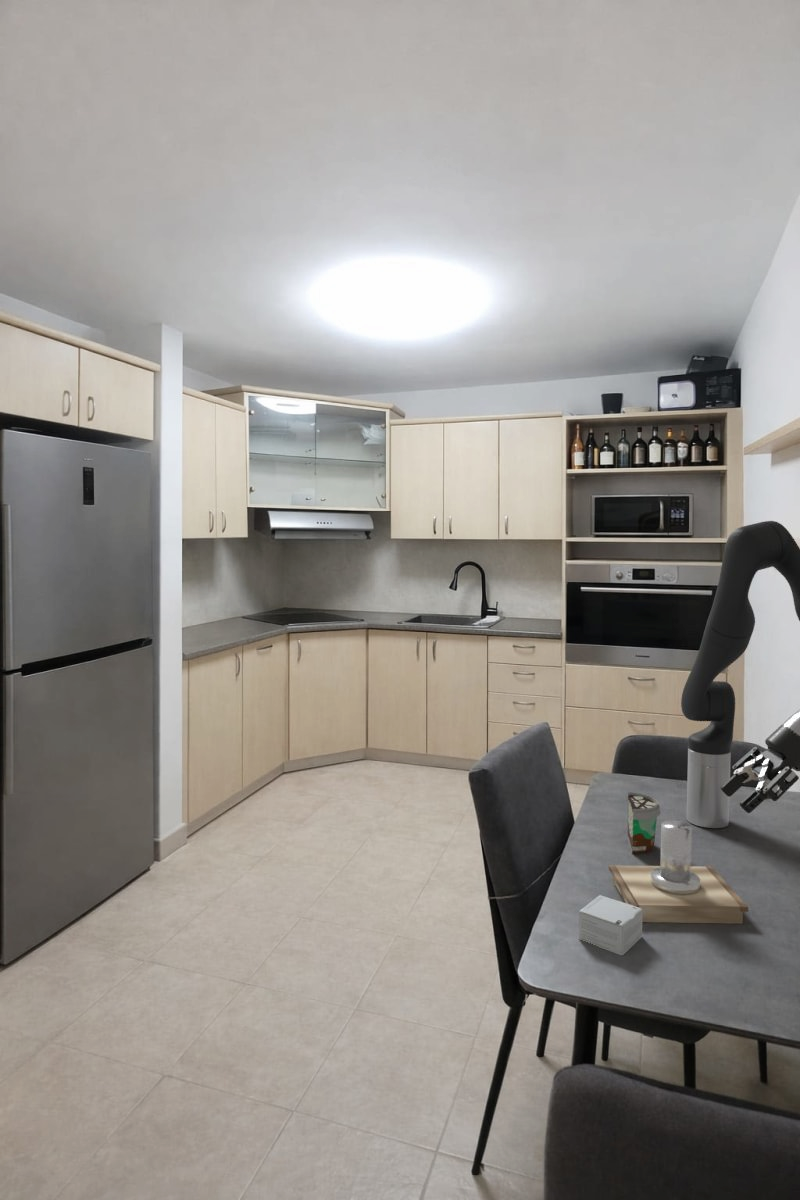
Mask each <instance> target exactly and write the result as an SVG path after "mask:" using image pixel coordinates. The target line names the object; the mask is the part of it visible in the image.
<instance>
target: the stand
mask: <svg viewBox="0 0 800 1200" xmlns="http://www.w3.org/2000/svg"><path fill="white" fill-rule="evenodd" d="M656 868H660V865H615V864H609V865H608V871H609V872H610V874H611V875H612V881H613V884H614V886H615V887H616V888H617V890H618V892H619V894H620V896H621V897H622V899H623V902H624V903H627V904H630V905H633V906H636V907H639V908H641V909H642V923H673V924H674V923H681V924H683V923H684V924H685V923H687V924H692V923H693V924H742V925H743V924H744V923H743V922H744V920H743V919H744V918H743V917H744V915H743V914H744V913H745V912H746V913H747V912H749V906H748V905H747V904H746V903H745V901H743V899H742V898H741V897H740V896H739V895H738V893H736V892H735V891H734V890H733V888H732V887H731V886H730V884H728V883H727V882H726V881H725V880H724V879H723V877H722V876H721V875H720V873H718V872H717V871H716V869H714V868H713V866H711V865H707V866H706V865H704V866H699V865H698V866H696V865H695V866H692V865H691V872H692V873H694V874H696V875H697V876H698V877H699V878H700V890H699V892H698V893H696V894H693V895H673V894H669V893H665V892H663V891H660V890H658V889H656V888H655V887H654V886H653V885H652V884H651V872H652V870H654V869H656Z"/></svg>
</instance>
